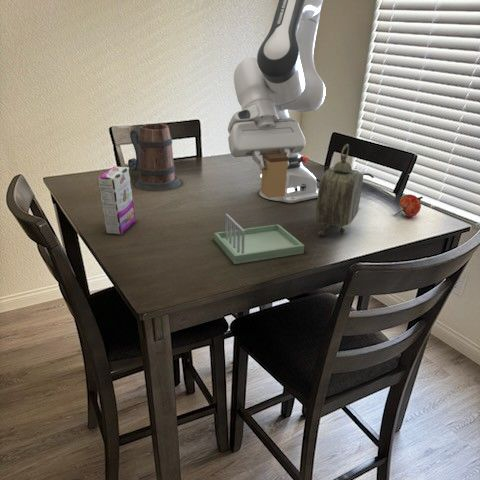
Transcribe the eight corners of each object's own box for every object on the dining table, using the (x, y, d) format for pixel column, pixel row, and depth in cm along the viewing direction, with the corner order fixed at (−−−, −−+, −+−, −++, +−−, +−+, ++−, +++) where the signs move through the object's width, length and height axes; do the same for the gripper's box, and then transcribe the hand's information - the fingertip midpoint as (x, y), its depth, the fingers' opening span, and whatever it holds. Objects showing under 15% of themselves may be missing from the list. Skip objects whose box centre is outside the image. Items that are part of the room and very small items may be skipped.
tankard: (190, 182, 179) (188, 126, 168) (157, 193, 168) (152, 133, 157) (147, 170, 191) (143, 117, 180) (114, 180, 180) (107, 123, 169)
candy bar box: (120, 219, 147) (113, 165, 138) (135, 221, 146) (130, 166, 137) (104, 233, 137) (96, 176, 129) (121, 235, 137) (113, 178, 128)
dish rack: (277, 231, 142) (279, 204, 137) (303, 253, 129) (306, 224, 125) (214, 240, 135) (213, 212, 131) (234, 264, 123) (235, 234, 118)
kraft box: (277, 190, 128) (279, 152, 123) (285, 196, 125) (288, 156, 119) (260, 192, 127) (262, 153, 121) (268, 198, 123) (270, 158, 118)
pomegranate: (400, 227, 152) (430, 210, 149) (389, 207, 150) (419, 190, 147) (397, 221, 159) (426, 204, 155) (387, 202, 157) (415, 185, 153)
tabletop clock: (327, 221, 149) (338, 137, 136) (356, 226, 146) (370, 141, 132) (313, 237, 138) (323, 148, 125) (343, 243, 135) (357, 152, 121)
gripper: (292, 125, 130) (305, 171, 128) (221, 129, 124) (234, 177, 121) (301, 110, 125) (315, 158, 122) (228, 113, 118) (241, 164, 116)
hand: (274, 168), depth 122 cm, fingers closed on kraft box, 5 cm apart
